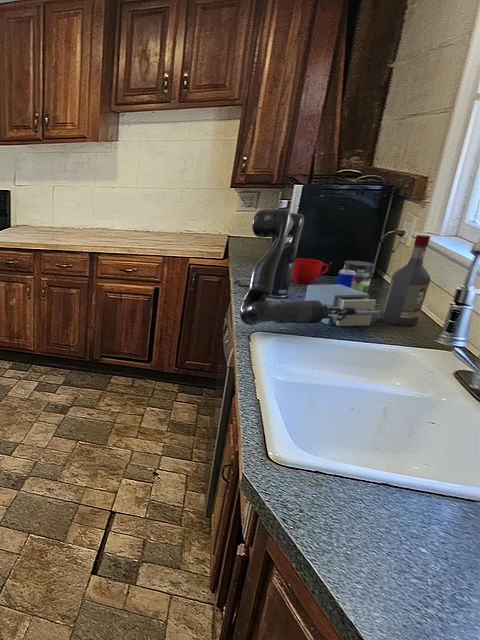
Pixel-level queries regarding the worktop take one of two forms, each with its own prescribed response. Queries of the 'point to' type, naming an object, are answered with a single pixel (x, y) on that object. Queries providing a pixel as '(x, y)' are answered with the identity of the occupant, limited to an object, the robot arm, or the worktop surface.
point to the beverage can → (346, 277)
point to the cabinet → (331, 295)
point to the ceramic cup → (307, 270)
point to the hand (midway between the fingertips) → (353, 311)
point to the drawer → (356, 310)
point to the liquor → (408, 288)
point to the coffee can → (360, 274)
